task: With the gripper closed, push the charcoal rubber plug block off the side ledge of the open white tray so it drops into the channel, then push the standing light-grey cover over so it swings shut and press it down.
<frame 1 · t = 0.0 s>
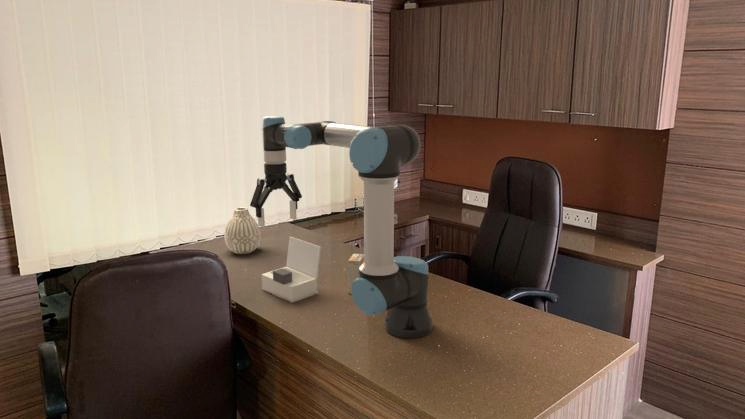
hand: (277, 222, 196), 28 cm above the table, fingers open, 13 cm apart
plug block: (282, 280, 202), point 6 cm above the table, touching open white tray
cover: (304, 256, 210), point 12 cm above the table, hinge at 100.0°
vase: (243, 251, 253), on the table
open white tray: (289, 291, 208), on the table
supplement box: (356, 290, 209), on the table
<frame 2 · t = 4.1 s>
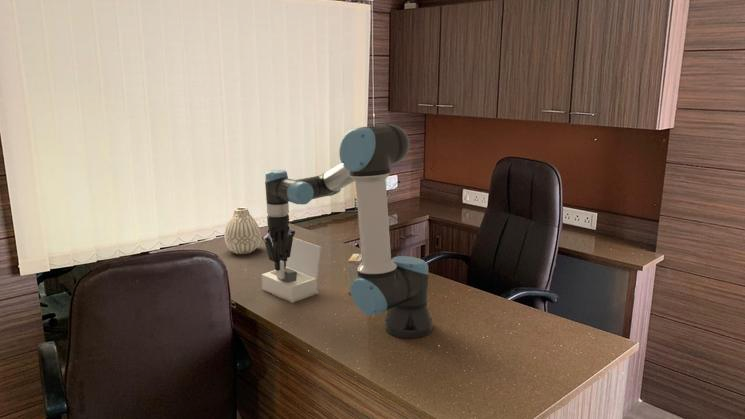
hand: (280, 277, 201), 7 cm above the table, fingers closed
plug block: (286, 279, 203), point 6 cm above the table, tilted 8°, touching open white tray, gripper
everything else where it was.
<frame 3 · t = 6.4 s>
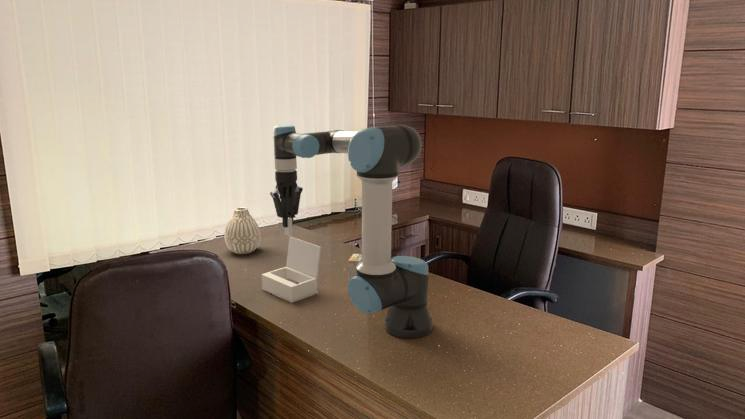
hand: (288, 235, 200), 22 cm above the table, fingers closed
plug block: (286, 287, 204), point 3 cm above the table, tilted 90°, touching open white tray
everything else where it was.
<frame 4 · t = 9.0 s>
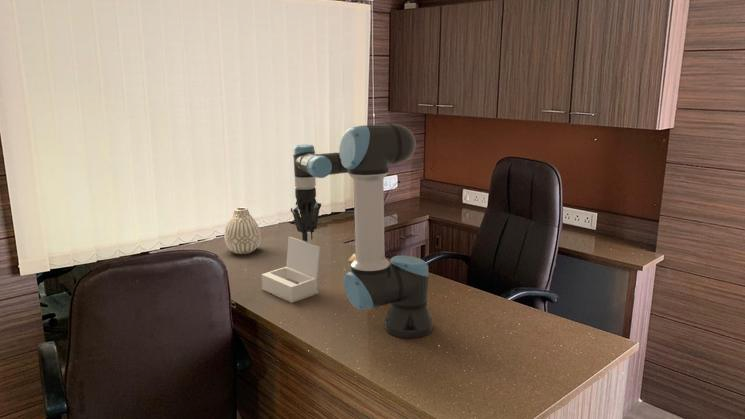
hand: (307, 248, 210), 15 cm above the table, fingers closed
cover: (303, 256, 210), point 12 cm above the table, hinge at 98.1°, touching gripper
everything else where it was.
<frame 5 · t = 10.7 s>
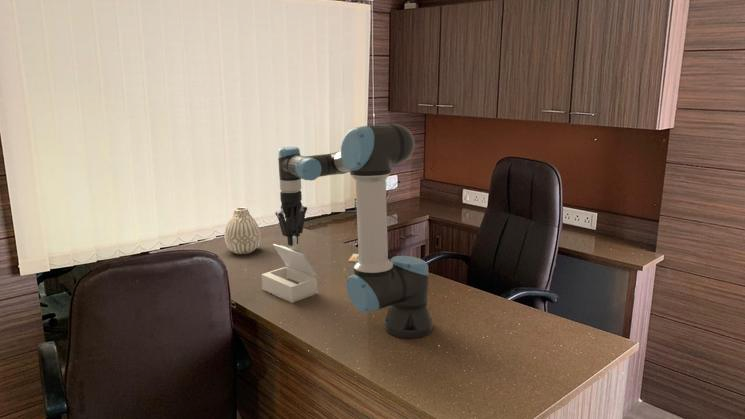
hand: (293, 253, 206), 14 cm above the table, fingers closed
cover: (295, 259, 207), point 12 cm above the table, hinge at 59.6°, touching gripper
everything else where it was.
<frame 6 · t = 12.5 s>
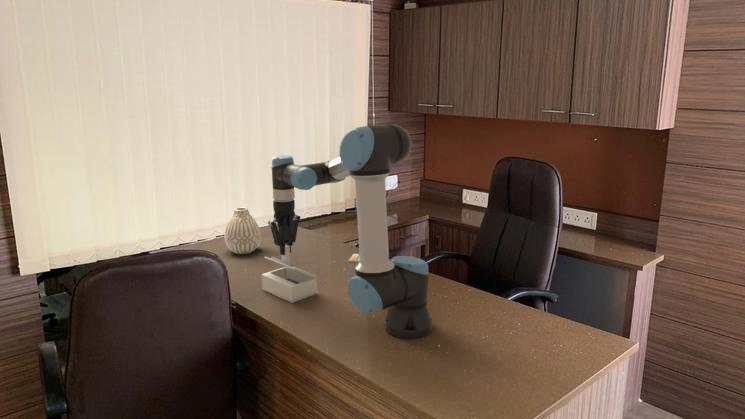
hand: (285, 262, 204), 12 cm above the table, fingers closed
cover: (290, 265, 206), point 10 cm above the table, hinge at 30.4°, touching gripper
everything else where it was.
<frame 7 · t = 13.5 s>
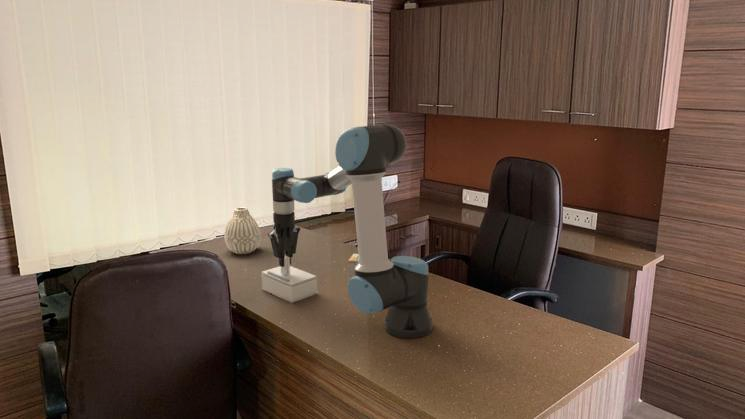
hand: (285, 273, 205), 7 cm above the table, fingers closed, pressing on cover
cover: (288, 273, 206), point 7 cm above the table, hinge at 0.2°, touching gripper
everything else where it was.
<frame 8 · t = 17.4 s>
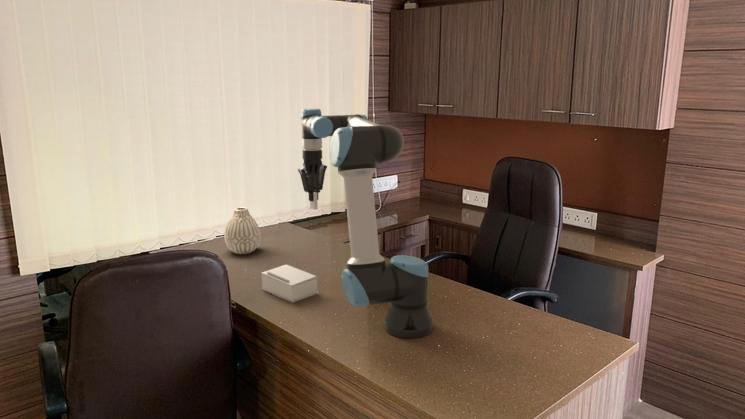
hand: (313, 208, 221), 26 cm above the table, fingers closed
cover: (288, 274, 206), point 7 cm above the table, hinge at -1.2°
everything else where it was.
at the end: cover at -1° (first picture: +100°); plug block inside the target area on the open white tray (4.2 cm from its centre), point 2.8 cm above the open white tray's base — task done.
